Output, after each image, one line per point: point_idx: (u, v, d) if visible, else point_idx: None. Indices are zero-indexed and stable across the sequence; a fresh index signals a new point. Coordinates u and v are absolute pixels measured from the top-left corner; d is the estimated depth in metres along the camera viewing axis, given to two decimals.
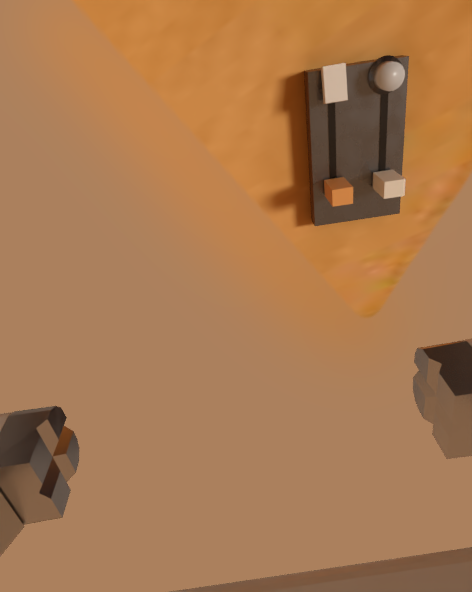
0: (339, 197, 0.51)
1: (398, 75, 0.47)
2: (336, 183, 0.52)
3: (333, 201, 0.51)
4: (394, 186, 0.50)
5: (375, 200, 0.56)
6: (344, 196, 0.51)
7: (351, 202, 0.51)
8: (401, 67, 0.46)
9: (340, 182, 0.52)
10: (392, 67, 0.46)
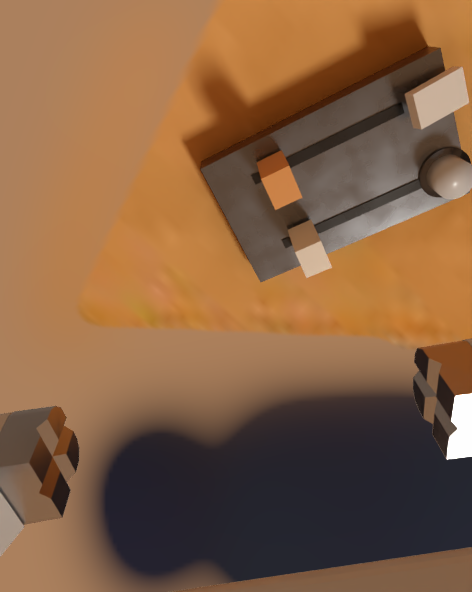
0: (279, 183, 0.29)
1: (458, 189, 0.32)
2: None
3: (270, 176, 0.29)
4: (317, 257, 0.32)
5: (269, 241, 0.36)
6: (283, 190, 0.29)
7: (276, 206, 0.30)
8: (468, 188, 0.32)
9: None
10: (468, 175, 0.32)
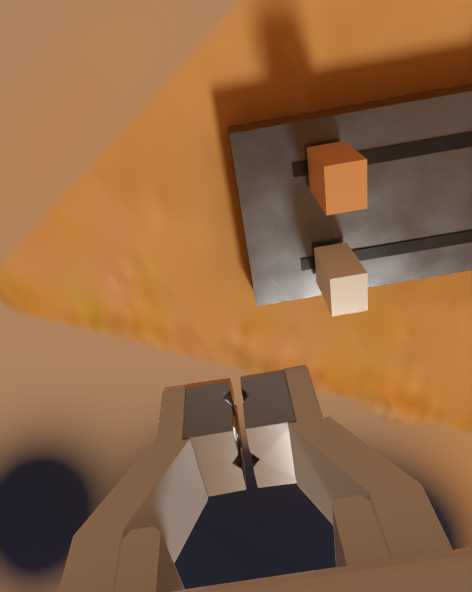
0: (345, 180, 0.21)
1: None
2: None
3: (337, 166, 0.20)
4: (354, 293, 0.24)
5: (285, 256, 0.27)
6: (346, 192, 0.21)
7: (329, 211, 0.21)
8: None
9: None
10: None
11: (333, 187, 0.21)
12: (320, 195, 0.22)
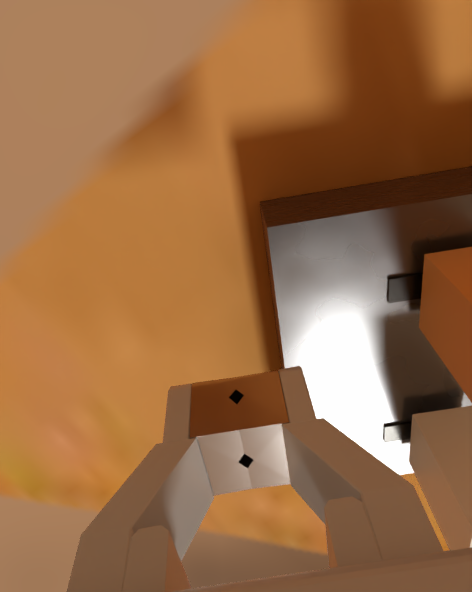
0: None
1: None
2: None
3: None
4: None
5: (357, 422, 0.15)
6: None
7: None
8: None
9: None
10: None
11: None
12: (470, 376, 0.10)
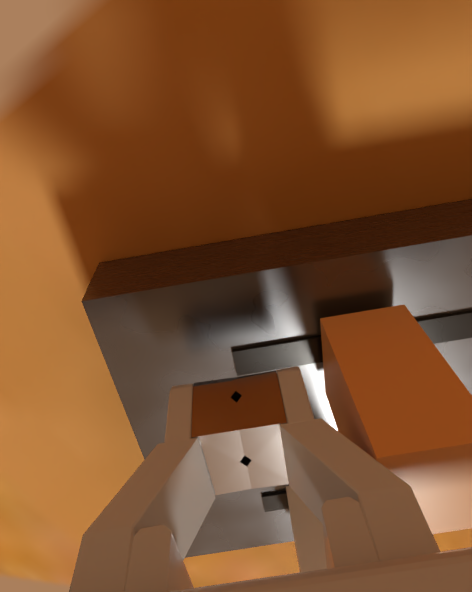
0: (435, 481, 0.07)
1: None
2: None
3: (415, 456, 0.07)
4: None
5: (231, 492, 0.14)
6: (434, 501, 0.08)
7: None
8: None
9: None
10: None
11: None
12: None
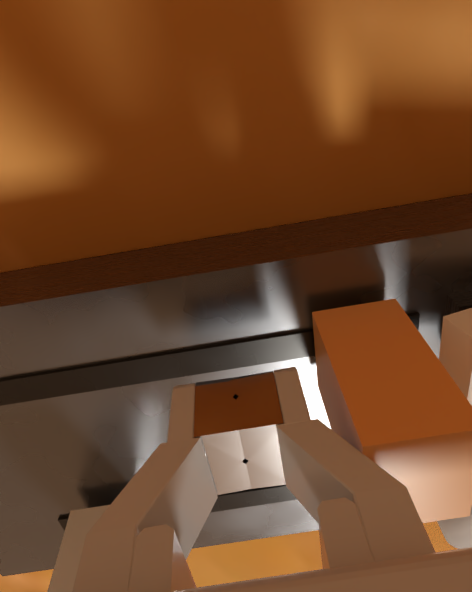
0: (420, 470, 0.07)
1: None
2: None
3: (400, 446, 0.07)
4: None
5: (27, 515, 0.15)
6: (420, 491, 0.08)
7: None
8: None
9: None
10: None
11: None
12: None
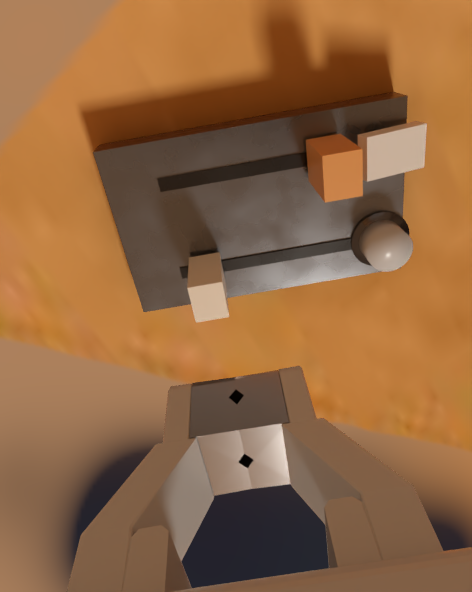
0: (342, 169, 0.22)
1: (390, 261, 0.28)
2: None
3: (334, 156, 0.22)
4: (213, 301, 0.26)
5: (164, 265, 0.29)
6: (343, 180, 0.22)
7: (327, 198, 0.23)
8: (401, 263, 0.28)
9: None
10: (404, 249, 0.27)
11: (331, 176, 0.22)
12: (318, 184, 0.24)
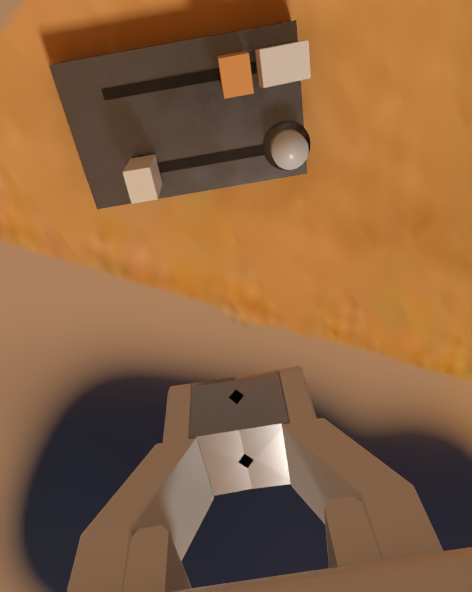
0: (235, 70, 0.29)
1: (291, 160, 0.34)
2: None
3: (227, 59, 0.28)
4: (144, 184, 0.32)
5: (112, 166, 0.36)
6: (237, 79, 0.29)
7: (226, 95, 0.30)
8: (301, 162, 0.34)
9: None
10: (301, 150, 0.34)
11: (227, 75, 0.29)
12: (222, 86, 0.30)
